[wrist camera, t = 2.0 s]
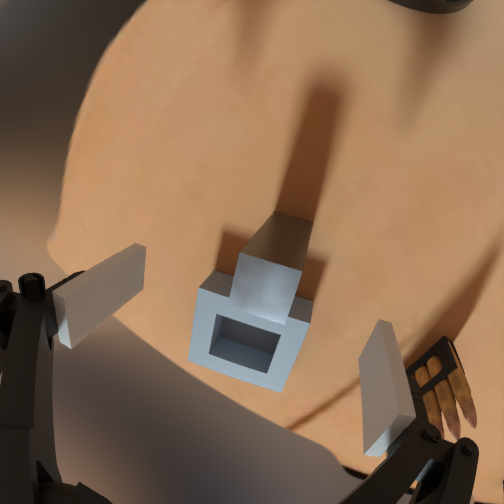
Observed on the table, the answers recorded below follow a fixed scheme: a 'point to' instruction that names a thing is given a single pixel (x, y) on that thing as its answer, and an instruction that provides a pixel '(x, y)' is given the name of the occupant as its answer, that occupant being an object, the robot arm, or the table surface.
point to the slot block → (245, 336)
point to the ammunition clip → (444, 387)
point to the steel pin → (271, 268)
